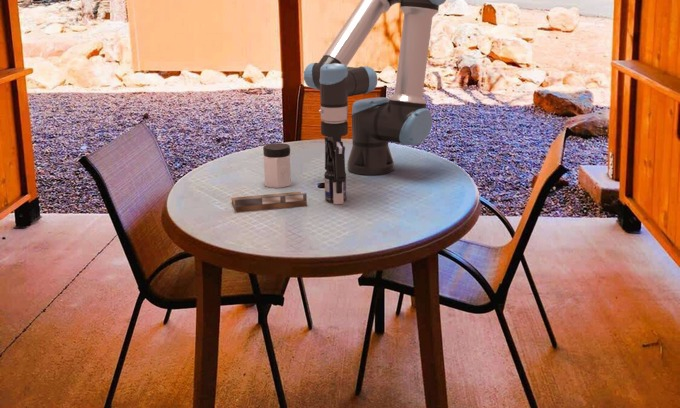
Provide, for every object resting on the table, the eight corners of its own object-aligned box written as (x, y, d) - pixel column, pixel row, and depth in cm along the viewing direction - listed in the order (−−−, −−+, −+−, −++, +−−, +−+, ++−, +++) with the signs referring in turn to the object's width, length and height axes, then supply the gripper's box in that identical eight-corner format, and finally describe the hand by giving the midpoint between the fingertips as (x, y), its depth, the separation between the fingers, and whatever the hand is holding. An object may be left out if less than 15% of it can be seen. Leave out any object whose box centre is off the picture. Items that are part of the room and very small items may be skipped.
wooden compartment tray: (300, 196, 228) (300, 185, 227) (307, 205, 220) (306, 194, 219) (231, 202, 224) (231, 190, 223) (235, 212, 215) (235, 200, 214)
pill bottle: (349, 198, 226) (348, 161, 223) (342, 204, 221) (341, 166, 217) (329, 196, 228) (328, 159, 225) (321, 202, 223) (321, 165, 219)
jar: (271, 189, 235) (270, 151, 231) (259, 183, 242) (257, 145, 238) (297, 184, 240) (296, 146, 236) (284, 178, 246) (282, 141, 243)
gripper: (313, 114, 225) (314, 191, 232) (329, 128, 207) (330, 211, 214) (338, 113, 227) (339, 189, 234) (356, 127, 209) (357, 208, 216)
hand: (335, 199), depth 224 cm, fingers open, 7 cm apart
